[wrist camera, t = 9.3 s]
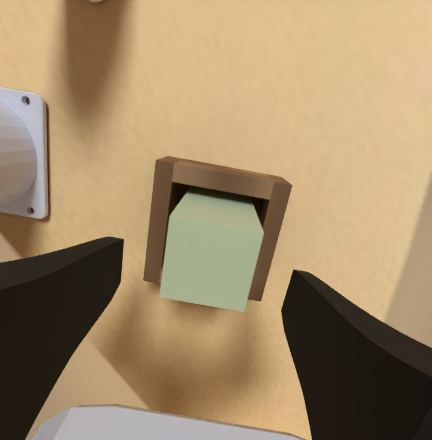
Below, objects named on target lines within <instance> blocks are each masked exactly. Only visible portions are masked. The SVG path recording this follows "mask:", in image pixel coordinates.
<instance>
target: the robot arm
mask: <svg viewBox="0 0 432 440" xmlns="http://www.w3.org/2000/svg"><path fill="white" fill-rule="evenodd" d="M26 98H29V99H30V104H29V105H28V104H27V103H26ZM31 208H33V209H34V213H33V212H32V211H31ZM0 212H3V213H8V214H14V215H20V216H25V217H31V218H36V219H42V218H44V217H46V216H47V215H48V175H47V129H46V102H45V100H44V98H43V97H42V96H41V95H39V94H35V93H30V92H24V91H19V90H14V89H8V88H3V87H0ZM123 244H124V239H120V238H114V237H104V238H100V239H96V240H92V241H89V242H86V243H82V244H79V245H76V246H72V247H69V248H66V249H62V250H58V251H54V252H50V253H47V254H43V255H39V256H34V257H30V258H25V259H19V260H14V261H8V262H3V263H0V440H25V438H26V437H27V435H28V433H29V431H30V429H31V427H32V425H33V423H34V421H35V419H36V418H37V416H38V414H39V412H40V410H41V408H42V407H43V405H44V403H45V401H46V399H47V398H48V396H49V394H50V392H51V390H52V389H53V387H54V385H55V383H56V382H57V380H58V378H59V376H60V375H61V373H62V371H63V370H64V368H65V366H66V364H67V363H68V361H69V359H70V358H71V356H72V354H73V353H74V351H75V350H76V349H77V347H78V346H79V344H80V343H81V341H82V340H83V339H84V337H85V336H86V335H87V333H88V332H89V331H90V329H91V328H92V326H93V325H94V324H95V322H96V321H97V320H98V318H99V317H100V316H101V314H102V313H103V311H104V310H105V309H106V307H107V306H108V304H109V303H110V301H111V300H112V298H113V296H114V294H115V292H116V290H117V288H118V286H119V284H120V282H121V271H122V258H123ZM281 312H282V319H283V326H284V332H285V335H286V339H287V342H288V345H289V349H290V352H291V355H292V358H293V362H294V365H295V368H296V371H297V374H298V378H299V381H300V384H301V388H302V392H303V396H304V400H305V405H306V410H307V415H308V420H309V425H310V430H311V436H312V440H432V348H431V347H428V346H427V345H424V344H422V343H420V342H418V341H416V340H414V339H412V338H410V337H408V336H407V335H404V334H403V333H401V332H399V331H397V330H395V329H394V328H392V327H390V326H388V325H387V324H385V323H383V322H382V321H380V320H378V319H377V318H375V317H373V316H372V315H370V314H369V313H367V312H366V311H364V310H362V309H361V308H359V307H358V306H356V305H355V304H353V303H352V302H351V301H349V300H348V299H346V298H345V297H344V296H342V295H341V294H339V293H338V292H337V291H335V290H334V289H332V288H331V287H330V286H328V285H327V284H326V283H324V282H323V281H321V280H320V279H319V278H317V277H316V276H314V275H312V274H311V273H309V272H305V271H299V270H293V273H292V276H291V280H290V283H289V286H288V289H287V293H286V296H285V299H284V303H283V306H282V309H281ZM32 440H306V439H303V438H300V437H298V436H295V435H293V434H290V433H286V432H280V431H274V430H268V429H262V428H256V427H250V426H244V425H238V424H232V423H226V422H220V421H214V420H208V419H202V418H196V417H190V416H184V415H178V414H172V413H166V412H160V411H154V410H148V409H142V408H136V407H130V406H124V405H118V404H107V405H106V404H104V405H79V406H75V407H71V408H70V409H68V410H66V411H64V412H62V413H61V414H59V415H57V416H55V417H53V418H52V419H50V420H48V421H46V422H44V423H42V425H41V426H40V428H39V430H38V431H37V433H36V434H35V436H34V437H33V439H32Z"/></svg>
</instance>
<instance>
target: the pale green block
mask: <svg viewBox="0 0 432 440" xmlns="http://www.w3.org/2000/svg"><path fill="white" fill-rule="evenodd" d="M263 235H264V232H263V229H262V226H261V224H260V221H259V218H258V216H257V213H256V210H255V208H254V205H253V202H252V200H251V197H250V196H246V195H240V194H235V193H229V192H224V191H218V190H213V189H207V188H202V187H196V186H191V187H190V188H189V190H188V191H187V193H186V194H185V195H184V197H183V198H182V199H181V201H180V202H179V204H178V205H177V206H176V208H175V209H174V211H173V212H172V213H171V215H170V217H169V224H168V232H167V240H166V248H165V256H164V264H163V272H162V280H161V288H160V296H159V297H161V298H166V299H172V300H178V301H183V302H189V303H195V304H200V305H206V306H212V307H218V308H223V309H229V310H235V311H240V312H244V311H245V307H246V303H247V299H248V295H249V291H250V287H251V283H252V279H253V275H254V271H255V267H256V263H257V259H258V255H259V251H260V247H261V243H262V239H263Z"/></svg>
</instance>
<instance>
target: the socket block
mask: <svg viewBox="0 0 432 440" xmlns="http://www.w3.org/2000/svg"><path fill="white" fill-rule="evenodd" d="M180 183H182V184H188V185H193V186H198V187H204V188H209V189H215V190H220V191H226V192H231V193H236V194H242V195H247V196H253V197H258V198H261V199H260V204H259V208H258V212H257V216H258V218H259V221H260V224H261V226H262V229H263V232H264V235H263V239H262V243H261V247H260V251H259V255H258V259H257V263H256V267H255V271H254V275H253V279H252V283H251V287H250V291H249V295H248V299H250V300H256V301H261V299H262V295H263V292H264V288H265V284H266V281H267V277H268V273H269V269H270V266H271V262H272V258H273V255H274V251H275V247H276V244H277V240H278V236H279V233H280V229H281V225H282V221H283V218H284V214H285V210H286V207H287V203H288V199H289V196H290V192H291V188H292V185H291V184H290V183H289V182H287V181H286V180H285V179H283V178H282V177H278V176H273V175H267V174H262V173H257V172H251V171H246V170H240V169H235V168H230V167H224V166H219V165H214V164H208V163H203V162H197V161H192V160H187V159H181V158H176V157H170V156H167V157H164V158H161V159H158V160H156V164H155V174H154V183H153V193H152V203H151V212H150V222H149V231H148V241H147V250H146V260H145V270H144V279H143V280H144V281H149V282H155V283H160V284H161V280H162V272H163V264H164V256H165V248H166V240H167V232H168V224H169V217H170V215H171V213H172V212H173V211H174V209H175V208H176V206H177V201H178V193H179V186H180Z"/></svg>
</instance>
